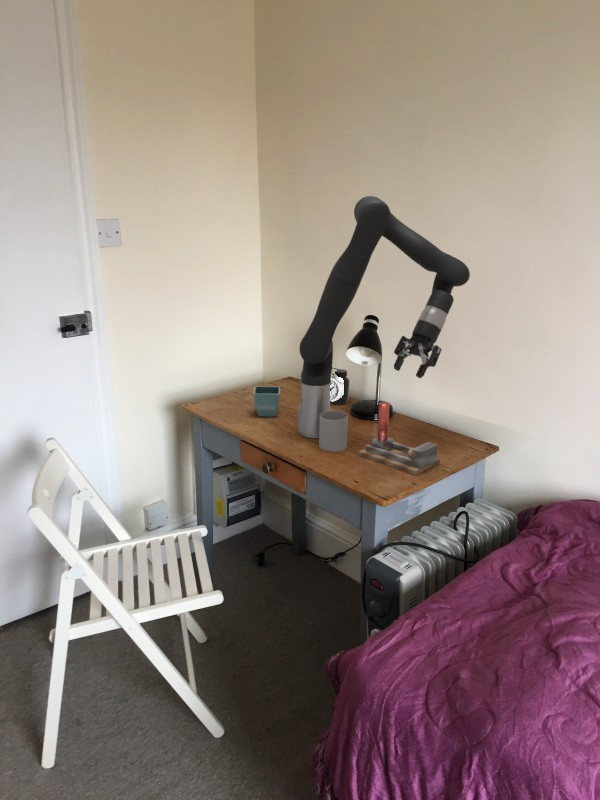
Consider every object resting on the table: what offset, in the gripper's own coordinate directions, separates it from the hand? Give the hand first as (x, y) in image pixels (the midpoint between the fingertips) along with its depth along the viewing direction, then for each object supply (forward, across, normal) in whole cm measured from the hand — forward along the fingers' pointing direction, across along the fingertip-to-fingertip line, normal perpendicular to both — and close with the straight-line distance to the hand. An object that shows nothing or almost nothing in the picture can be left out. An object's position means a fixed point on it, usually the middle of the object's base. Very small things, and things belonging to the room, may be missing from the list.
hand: (407, 373), depth 193 cm
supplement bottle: (+14, -41, +24) cm, 49 cm away
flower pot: (+29, -47, 0) cm, 55 cm away
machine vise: (+24, +8, +3) cm, 26 cm away
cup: (+29, -12, -3) cm, 32 cm away
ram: (+23, +2, +2) cm, 24 cm away
